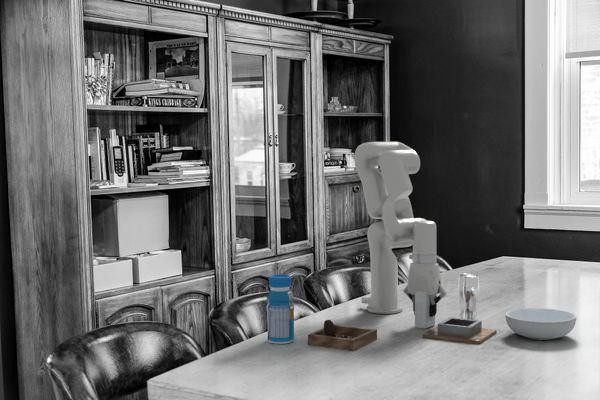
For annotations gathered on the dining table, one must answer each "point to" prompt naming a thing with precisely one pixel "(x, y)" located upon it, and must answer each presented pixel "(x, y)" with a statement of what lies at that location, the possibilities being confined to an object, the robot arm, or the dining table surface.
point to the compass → (332, 330)
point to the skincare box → (423, 310)
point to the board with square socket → (460, 331)
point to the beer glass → (468, 295)
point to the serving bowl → (540, 322)
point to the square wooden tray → (360, 334)
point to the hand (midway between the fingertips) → (424, 314)
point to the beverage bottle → (280, 310)
